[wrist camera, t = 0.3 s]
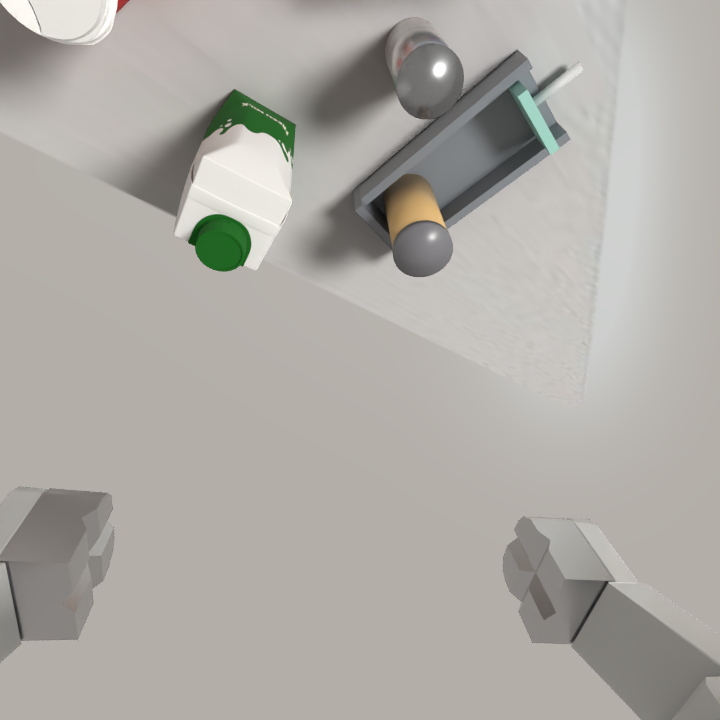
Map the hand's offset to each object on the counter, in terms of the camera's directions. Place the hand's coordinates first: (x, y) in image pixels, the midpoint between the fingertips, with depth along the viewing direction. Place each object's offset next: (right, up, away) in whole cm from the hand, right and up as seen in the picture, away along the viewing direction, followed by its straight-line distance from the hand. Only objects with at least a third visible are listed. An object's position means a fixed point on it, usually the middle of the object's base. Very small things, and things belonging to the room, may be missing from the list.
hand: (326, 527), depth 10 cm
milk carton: (-11, +28, +43) cm, 53 cm away
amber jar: (+6, +23, +49) cm, 54 cm away
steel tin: (+6, +34, +38) cm, 51 cm away
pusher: (+20, +32, +40) cm, 55 cm away
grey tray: (+11, +27, +46) cm, 54 cm away
